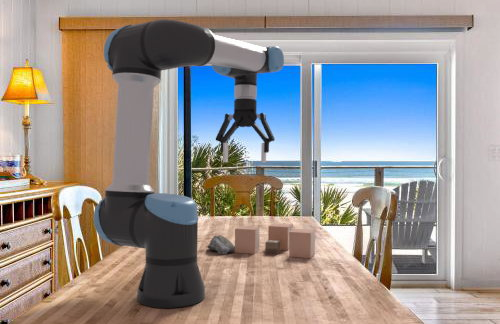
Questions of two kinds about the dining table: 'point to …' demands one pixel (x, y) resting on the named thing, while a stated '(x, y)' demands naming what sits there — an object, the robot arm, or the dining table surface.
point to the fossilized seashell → (221, 245)
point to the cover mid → (280, 234)
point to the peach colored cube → (247, 239)
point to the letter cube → (272, 247)
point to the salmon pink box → (301, 243)
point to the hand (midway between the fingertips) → (244, 162)
